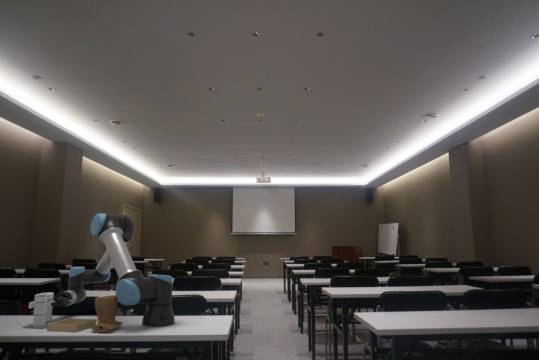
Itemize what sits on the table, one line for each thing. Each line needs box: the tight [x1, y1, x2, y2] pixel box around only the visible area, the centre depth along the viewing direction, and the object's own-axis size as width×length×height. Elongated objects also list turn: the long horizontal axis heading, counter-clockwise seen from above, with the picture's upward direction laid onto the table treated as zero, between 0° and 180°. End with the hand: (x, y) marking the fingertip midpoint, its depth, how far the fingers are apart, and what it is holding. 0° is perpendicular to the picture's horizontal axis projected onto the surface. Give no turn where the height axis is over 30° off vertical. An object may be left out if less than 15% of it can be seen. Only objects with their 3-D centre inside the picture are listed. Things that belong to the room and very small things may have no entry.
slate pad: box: [22, 324, 47, 330], centre depth 177 cm, size 11×11×1 cm
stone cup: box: [91, 294, 124, 334], centre depth 170 cm, size 15×12×15 cm
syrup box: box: [32, 291, 55, 326], centre depth 179 cm, size 6×6×14 cm
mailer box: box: [46, 317, 98, 333], centre depth 179 cm, size 15×26×3 cm, turn 169°
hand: (37, 305), depth 174 cm, fingers open, 7 cm apart
